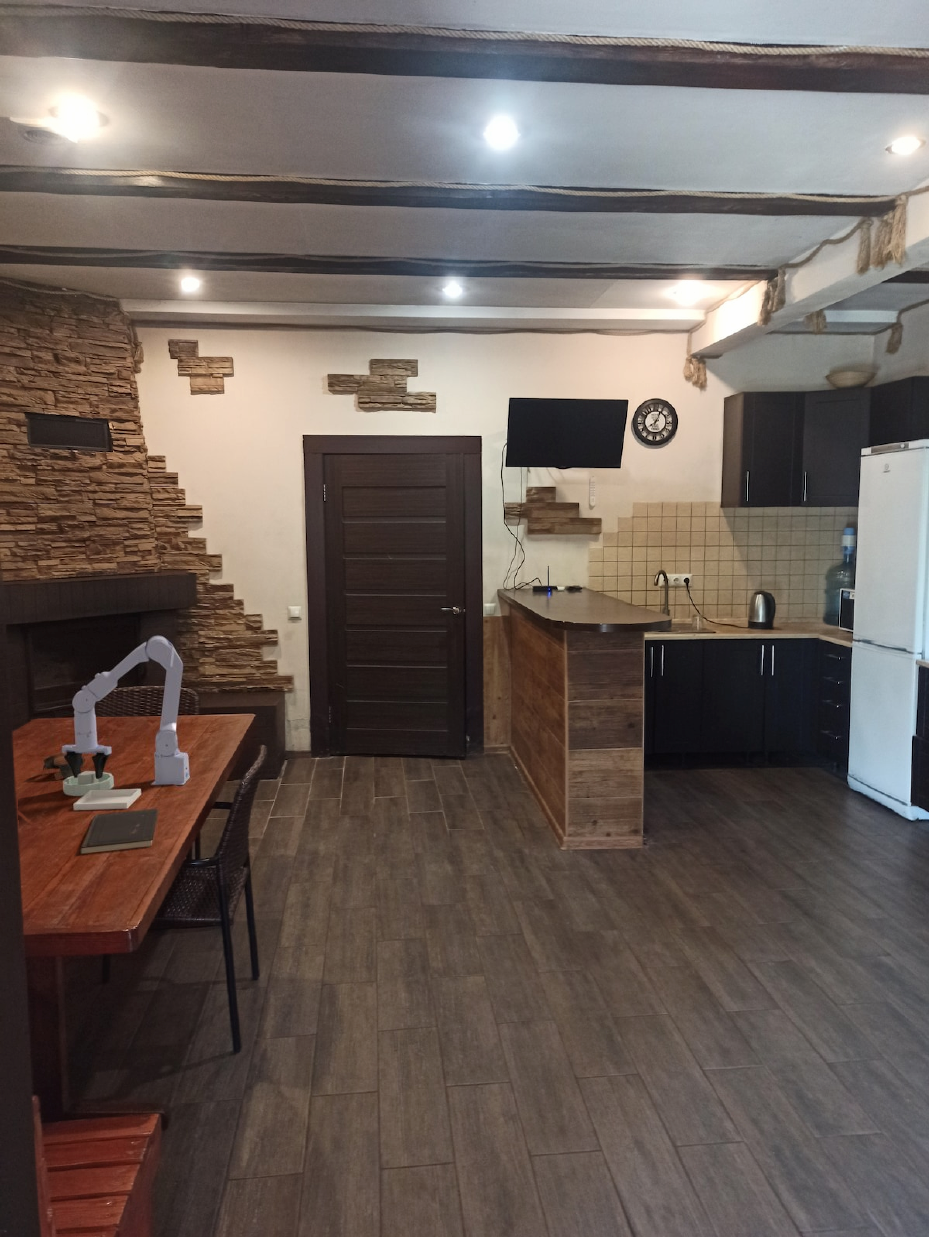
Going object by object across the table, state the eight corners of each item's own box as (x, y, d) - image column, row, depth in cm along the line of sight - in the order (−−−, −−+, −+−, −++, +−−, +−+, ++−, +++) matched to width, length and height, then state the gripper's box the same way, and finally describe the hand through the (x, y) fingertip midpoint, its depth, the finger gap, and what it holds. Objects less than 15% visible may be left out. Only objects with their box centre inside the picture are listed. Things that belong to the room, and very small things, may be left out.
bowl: (119, 782, 244) (118, 771, 243) (103, 796, 231) (103, 784, 231) (74, 784, 243) (74, 772, 242) (56, 798, 230) (55, 786, 230)
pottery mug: (45, 784, 245) (37, 759, 247) (51, 789, 253) (43, 764, 255) (87, 769, 250) (79, 744, 251) (91, 774, 258) (84, 750, 260)
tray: (141, 796, 231) (140, 788, 231) (127, 810, 219) (126, 802, 219) (90, 797, 230) (90, 790, 230) (73, 812, 218) (73, 804, 218)
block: (91, 790, 235) (90, 775, 234) (78, 790, 235) (77, 775, 235) (98, 786, 239) (98, 771, 238) (85, 786, 239) (84, 771, 238)
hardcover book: (159, 816, 216) (158, 808, 216) (153, 848, 194) (152, 839, 194) (93, 823, 212) (93, 814, 211) (80, 856, 190) (79, 847, 189)
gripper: (116, 729, 238) (119, 774, 239) (71, 727, 240) (74, 772, 242) (102, 735, 231) (104, 781, 232) (56, 733, 233) (58, 779, 235)
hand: (88, 777), depth 236 cm, fingers open, 6 cm apart
